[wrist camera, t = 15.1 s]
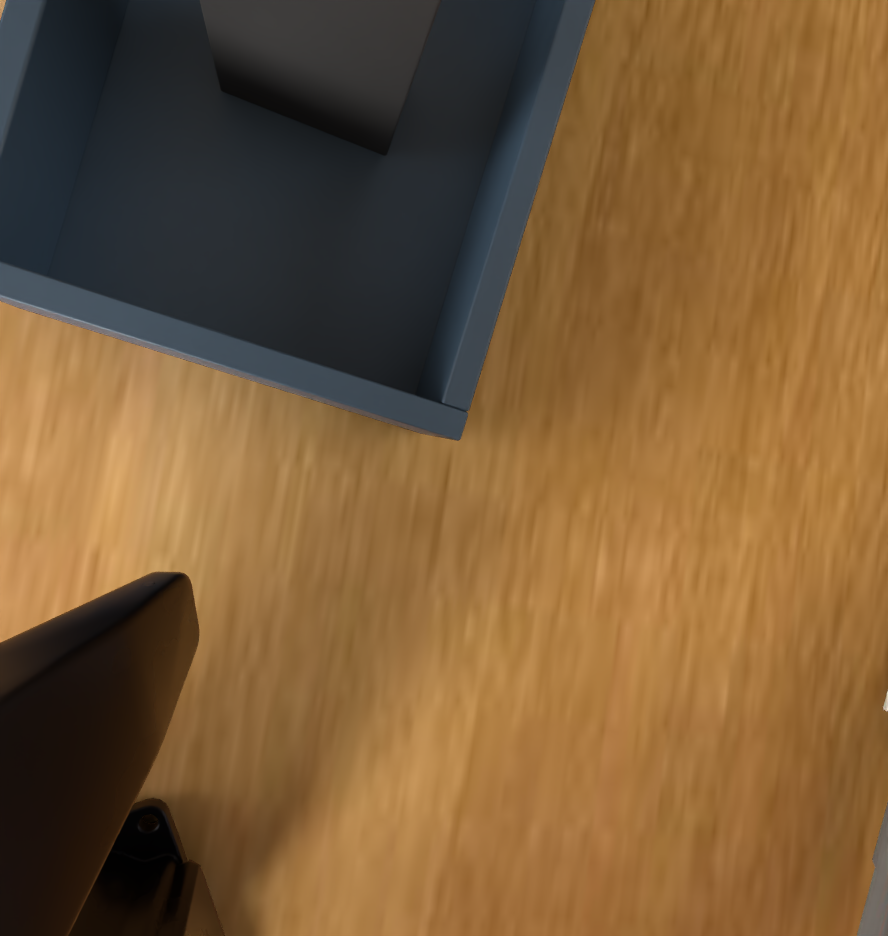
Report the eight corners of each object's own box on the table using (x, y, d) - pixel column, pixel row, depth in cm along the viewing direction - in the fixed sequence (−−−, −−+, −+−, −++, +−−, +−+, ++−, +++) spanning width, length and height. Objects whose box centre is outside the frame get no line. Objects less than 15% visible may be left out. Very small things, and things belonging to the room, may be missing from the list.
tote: (423, 434, 21) (460, 441, 16) (17, 307, 19) (-76, 272, 14) (587, -98, 21) (671, -245, 16) (196, -299, 18) (162, -541, 14)
